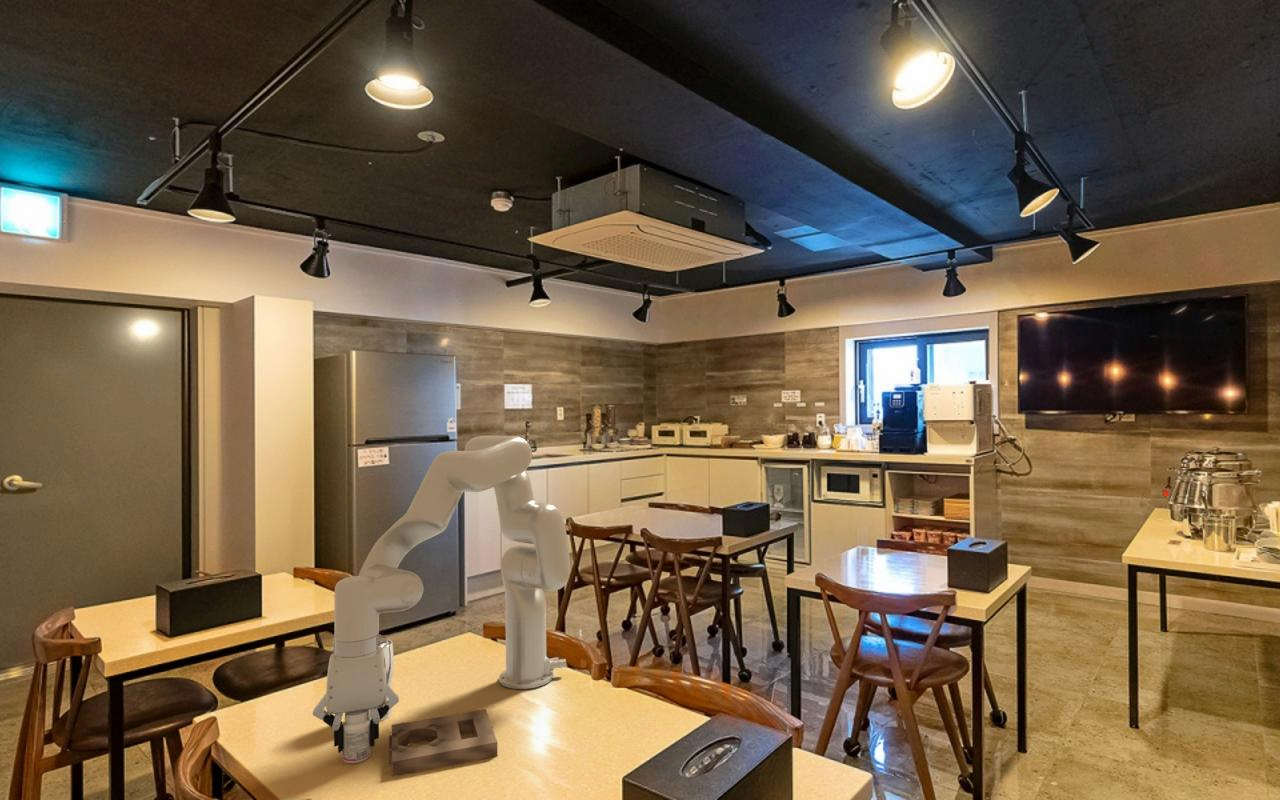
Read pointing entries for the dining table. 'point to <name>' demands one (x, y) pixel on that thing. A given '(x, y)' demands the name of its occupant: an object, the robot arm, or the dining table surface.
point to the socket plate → (441, 742)
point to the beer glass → (387, 670)
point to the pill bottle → (356, 736)
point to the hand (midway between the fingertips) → (356, 745)
